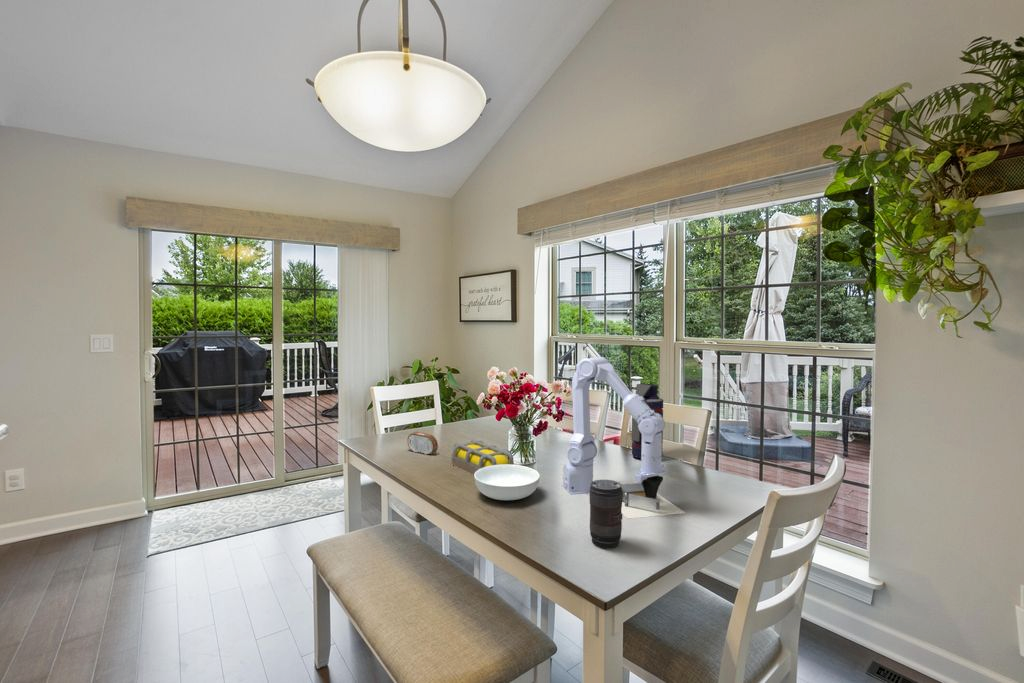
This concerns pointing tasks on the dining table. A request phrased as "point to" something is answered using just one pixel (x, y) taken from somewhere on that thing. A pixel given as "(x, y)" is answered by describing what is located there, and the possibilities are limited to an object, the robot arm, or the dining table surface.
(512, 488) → the serving bowl
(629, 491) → the grey and orange box
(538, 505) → the dining table surface
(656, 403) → the grenade
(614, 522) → the camera lens
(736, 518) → the dining table surface
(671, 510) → the mat
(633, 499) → the door
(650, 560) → the dining table surface
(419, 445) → the tin
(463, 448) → the cage light
